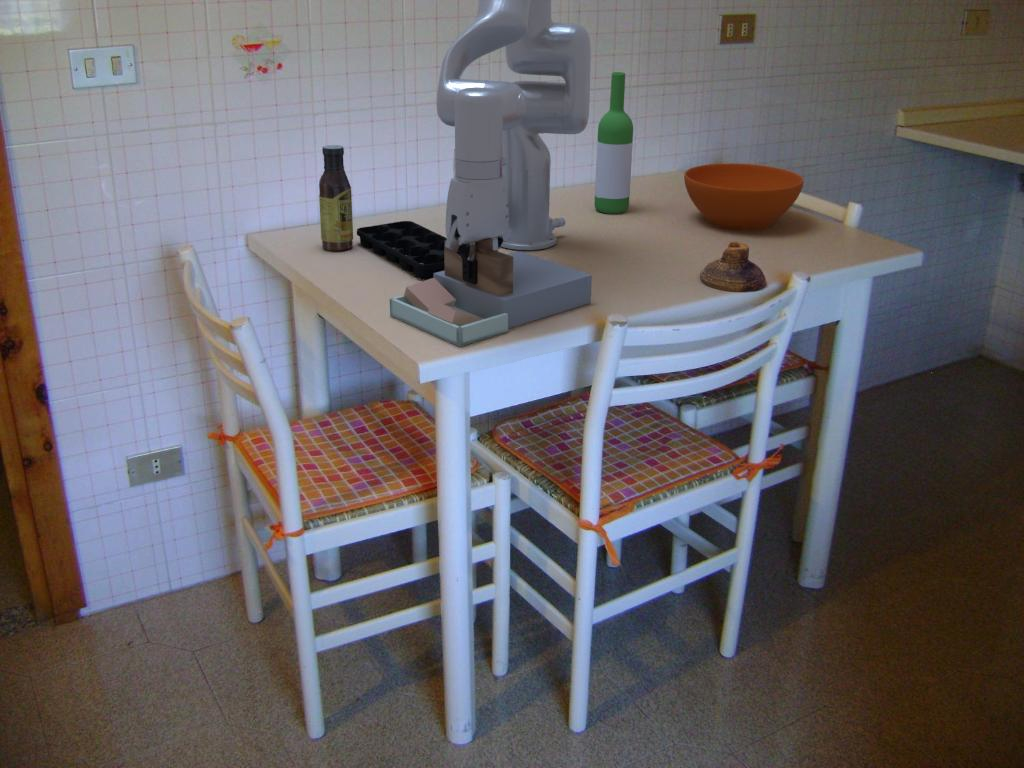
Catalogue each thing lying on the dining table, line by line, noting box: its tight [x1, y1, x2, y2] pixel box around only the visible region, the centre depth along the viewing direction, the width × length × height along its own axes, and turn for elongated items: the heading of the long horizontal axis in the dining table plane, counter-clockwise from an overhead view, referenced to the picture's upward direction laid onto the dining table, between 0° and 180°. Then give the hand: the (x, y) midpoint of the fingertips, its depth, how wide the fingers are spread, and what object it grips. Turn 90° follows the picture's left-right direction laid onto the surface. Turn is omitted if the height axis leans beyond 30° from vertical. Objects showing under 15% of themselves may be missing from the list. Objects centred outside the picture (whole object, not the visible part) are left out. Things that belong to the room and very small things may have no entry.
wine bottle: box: [594, 71, 634, 215], centre depth 233 cm, size 8×8×30 cm
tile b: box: [428, 301, 482, 326], centre depth 168 cm, size 6×6×2 cm
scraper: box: [444, 237, 514, 296], centre depth 174 cm, size 3×14×8 cm, turn 41°
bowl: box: [683, 163, 805, 231], centre depth 230 cm, size 25×25×10 cm
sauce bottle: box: [318, 144, 354, 252], centre depth 207 cm, size 7×6×20 cm
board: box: [434, 250, 593, 330], centre depth 182 cm, size 20×18×5 cm
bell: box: [699, 241, 767, 293], centre depth 193 cm, size 12×12×7 cm
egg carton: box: [356, 220, 447, 281], centre depth 205 cm, size 18×30×4 cm, turn 45°
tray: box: [389, 294, 509, 348], centre depth 172 cm, size 10×18×3 cm, turn 42°
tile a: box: [403, 278, 456, 313], centre depth 176 cm, size 6×6×2 cm
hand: (478, 279), depth 175 cm, fingers closed on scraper, 3 cm apart
